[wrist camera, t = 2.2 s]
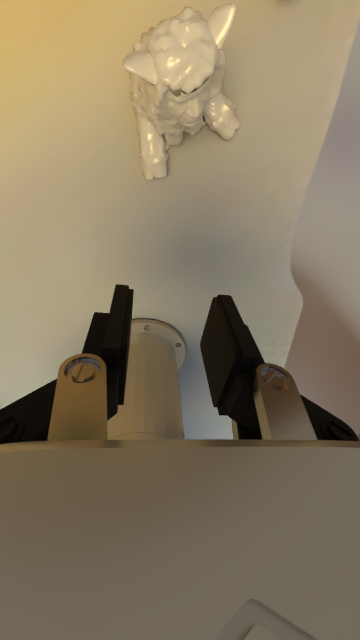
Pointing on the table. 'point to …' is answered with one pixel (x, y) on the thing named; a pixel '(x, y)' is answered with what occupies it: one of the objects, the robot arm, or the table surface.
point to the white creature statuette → (180, 83)
